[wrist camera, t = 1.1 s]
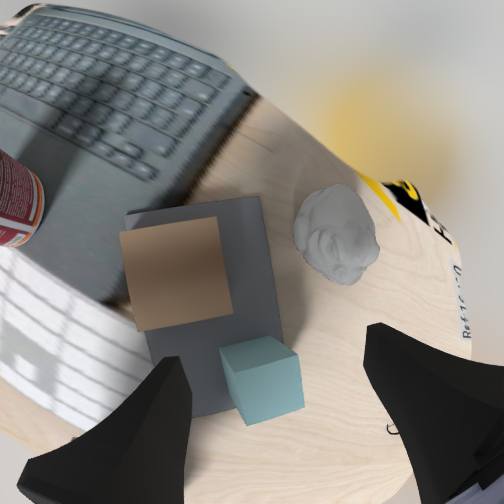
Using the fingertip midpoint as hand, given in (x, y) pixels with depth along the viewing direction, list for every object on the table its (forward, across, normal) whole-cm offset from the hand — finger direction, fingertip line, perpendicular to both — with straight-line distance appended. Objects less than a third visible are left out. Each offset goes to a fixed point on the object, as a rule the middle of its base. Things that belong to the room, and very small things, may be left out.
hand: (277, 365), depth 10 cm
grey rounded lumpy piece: (+14, -5, -1) cm, 14 cm away
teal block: (+9, +2, +7) cm, 11 cm away
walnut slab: (+10, +6, -1) cm, 11 cm away
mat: (+10, +4, +3) cm, 11 cm away
